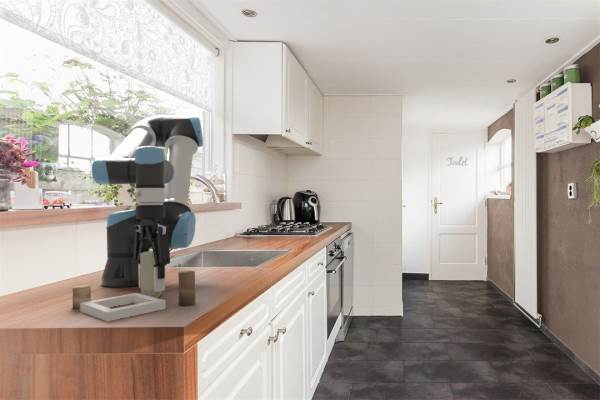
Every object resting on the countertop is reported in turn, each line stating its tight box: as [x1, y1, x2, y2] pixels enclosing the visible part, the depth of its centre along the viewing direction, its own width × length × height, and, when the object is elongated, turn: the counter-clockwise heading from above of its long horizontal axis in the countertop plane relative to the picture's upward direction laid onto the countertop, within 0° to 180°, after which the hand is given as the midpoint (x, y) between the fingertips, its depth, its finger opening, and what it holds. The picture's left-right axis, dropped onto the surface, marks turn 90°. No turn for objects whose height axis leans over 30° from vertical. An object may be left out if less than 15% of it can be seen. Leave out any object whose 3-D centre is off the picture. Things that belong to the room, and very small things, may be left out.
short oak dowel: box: [71, 284, 92, 310], centre depth 106 cm, size 4×4×5 cm
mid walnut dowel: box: [177, 270, 196, 307], centre depth 108 cm, size 4×4×8 cm
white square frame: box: [79, 292, 167, 322], centre depth 103 cm, size 14×14×2 cm
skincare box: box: [140, 250, 163, 299], centre depth 117 cm, size 6×4×12 cm
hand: (151, 288), depth 117 cm, fingers closed on skincare box, 7 cm apart
